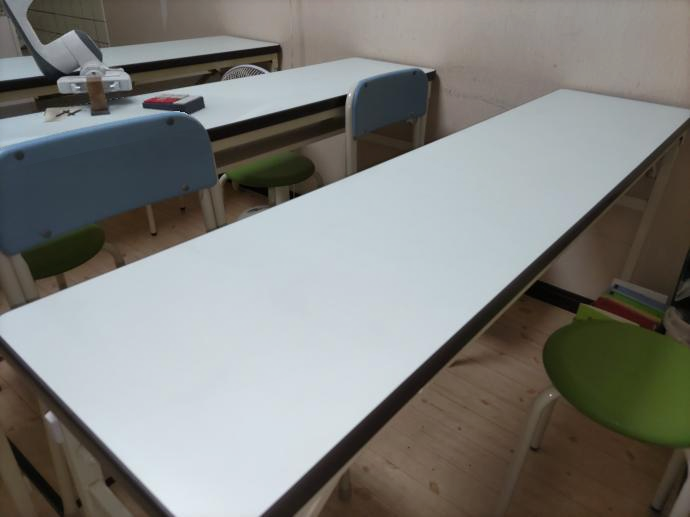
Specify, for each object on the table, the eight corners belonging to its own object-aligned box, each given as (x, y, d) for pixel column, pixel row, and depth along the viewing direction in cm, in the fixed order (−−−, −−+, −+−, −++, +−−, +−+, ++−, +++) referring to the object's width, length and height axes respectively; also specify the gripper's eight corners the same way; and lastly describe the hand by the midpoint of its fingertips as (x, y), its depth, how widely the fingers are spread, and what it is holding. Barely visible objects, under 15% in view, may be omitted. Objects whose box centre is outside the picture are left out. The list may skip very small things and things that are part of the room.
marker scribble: (55, 116, 144) (55, 115, 144) (56, 111, 149) (56, 110, 149) (80, 115, 147) (80, 114, 147) (81, 110, 151) (80, 109, 151)
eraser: (91, 116, 146) (84, 83, 141) (91, 107, 154) (84, 75, 149) (110, 115, 148) (103, 82, 143) (109, 106, 155) (103, 75, 151)
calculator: (162, 92, 162) (203, 93, 158) (165, 106, 165) (205, 107, 160) (140, 100, 153) (183, 102, 149) (143, 114, 156) (186, 116, 151)
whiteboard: (42, 127, 140) (41, 122, 139) (46, 111, 152) (45, 107, 152) (120, 121, 147) (119, 117, 146) (118, 107, 159) (117, 103, 159)
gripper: (55, 70, 153) (52, 80, 142) (128, 67, 160) (130, 76, 150) (60, 91, 156) (58, 102, 146) (131, 88, 164) (134, 98, 153)
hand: (95, 89), depth 148 cm, fingers open, 8 cm apart
